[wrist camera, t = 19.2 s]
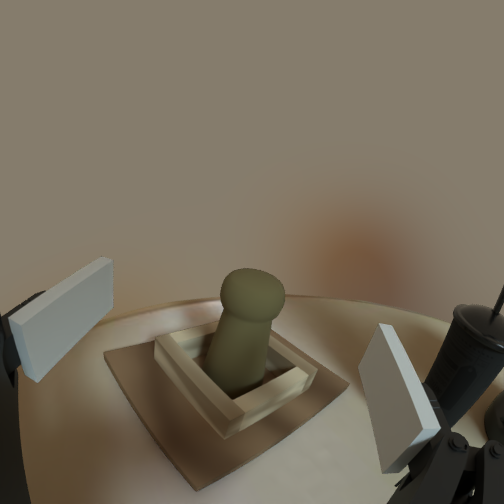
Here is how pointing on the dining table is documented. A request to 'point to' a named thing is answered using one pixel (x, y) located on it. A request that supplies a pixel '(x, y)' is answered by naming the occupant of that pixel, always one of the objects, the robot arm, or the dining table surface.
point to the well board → (218, 401)
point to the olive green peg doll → (243, 331)
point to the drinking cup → (468, 358)
